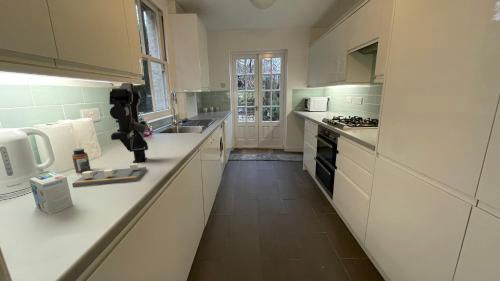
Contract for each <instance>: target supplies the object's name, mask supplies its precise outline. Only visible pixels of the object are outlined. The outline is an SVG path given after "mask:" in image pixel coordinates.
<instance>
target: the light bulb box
mask: <svg viewBox="0 0 500 281" xmlns="http://www.w3.org/2000/svg"><path fill="white" fill-rule="evenodd" d="M28 182H29V184H30V187H31V191H32V195H33V197H34V202H35V206H36V208H38V209H39V210H41V211H43V212H44V213H45V214H47V215H52V214H55V213H58V212H59V211H63V210H65V209H67V208H70V207H72V206H74V204H73V203H74V202H73V199H72V195H71V190H70V187H69V183H68V182H69V181H68V178H67V176H65V175H62V174H59V173H57V172H54V171H53V172H49V173H48V172H47V173H45V174H41V175H38V176H34V177H30V178H29V179H28Z"/></svg>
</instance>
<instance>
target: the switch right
mask: <svg viewBox="0 0 500 281" xmlns="http://www.w3.org/2000/svg"><path fill="white" fill-rule="evenodd" d="M92 171H93V170H88V171H86V172H81V177H83V179H88V178H92V177H93V174H92Z"/></svg>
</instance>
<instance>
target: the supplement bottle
mask: <svg viewBox="0 0 500 281" xmlns="http://www.w3.org/2000/svg"><path fill="white" fill-rule="evenodd" d="M71 157H72V162H73V165H74V170H75V172H76V173H83V172H86V171H91V166H90V160H89V156H88V153H87V152H85V149H84V148H75V149H73V154H72V155H71Z"/></svg>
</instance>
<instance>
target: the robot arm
mask: <svg viewBox="0 0 500 281" xmlns="http://www.w3.org/2000/svg"><path fill="white" fill-rule="evenodd" d="M141 99H142V96H141V92H140V89H139V88H138V87H136V86H135V85H134V83H132V82H123V83H121V85H120V86H119V87H118V88H117V87H115V88H111V89H110V91H109V105H110V106H112V105H113V106H112V107H111V108H110V110H109V115H110V116H111V118H113V119H115V123H118V124H117V125H118V129H117V131H115V132H113V133H112V134H111V135H110V139H111V141H117V140H119V141H120V143H121V144H122V145H123V146H124V147H125V148H126V150H127V151H128V152H129V153H132V152H133V158H134V160H132V164H135V163H144V162H146V161H147V160H148V159H149V158H148V157H146V151H148V150H149V145H148V142H147V141H146V139H145V137H144V135H143V134H144V133H146V132H147V128H148V127H149V126H148V124H147V121H144V120H141V121H140V117H139V105H140V103H141Z"/></svg>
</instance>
